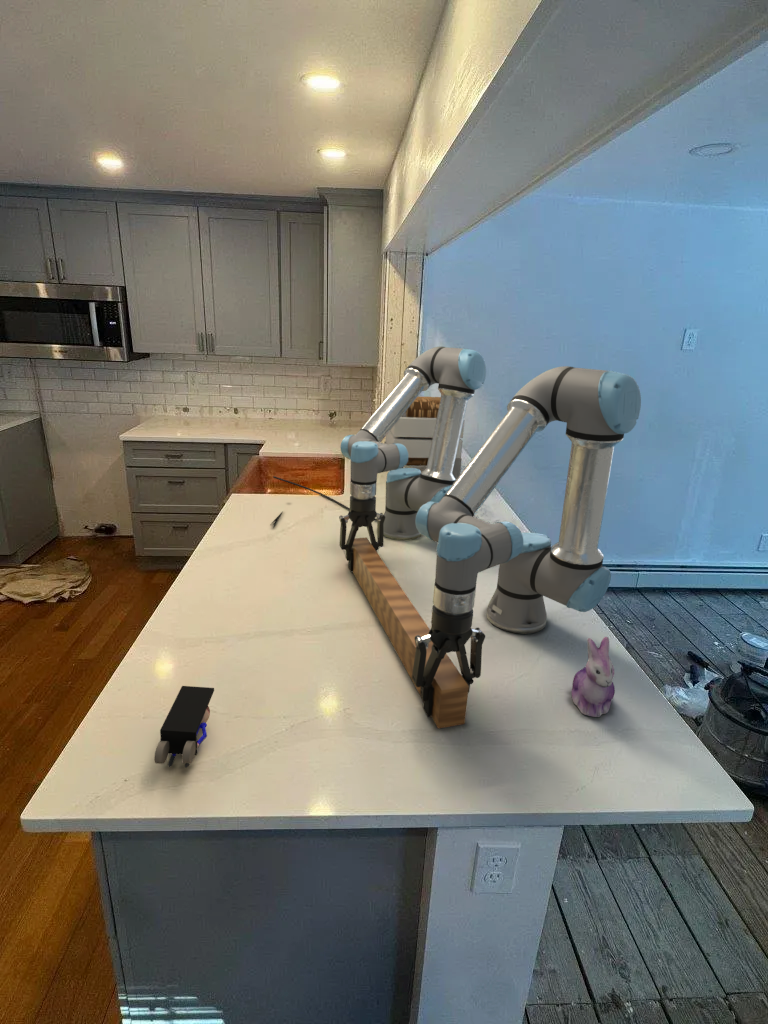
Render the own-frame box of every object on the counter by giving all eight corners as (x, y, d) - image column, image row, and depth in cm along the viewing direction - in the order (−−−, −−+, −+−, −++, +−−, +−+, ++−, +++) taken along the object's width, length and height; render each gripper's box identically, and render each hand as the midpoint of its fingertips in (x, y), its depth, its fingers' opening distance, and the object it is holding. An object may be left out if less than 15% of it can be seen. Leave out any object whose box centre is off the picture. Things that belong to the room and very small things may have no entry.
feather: (289, 506, 225) (292, 502, 225) (272, 529, 199) (275, 525, 198) (286, 503, 225) (288, 500, 225) (268, 527, 199) (271, 522, 198)
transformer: (382, 463, 289) (386, 382, 275) (445, 464, 293) (451, 384, 279) (390, 482, 257) (394, 392, 243) (460, 483, 261) (468, 394, 247)
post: (348, 564, 174) (349, 538, 171) (366, 563, 176) (366, 537, 173) (438, 729, 108) (441, 690, 105) (464, 724, 109) (469, 686, 106)
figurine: (594, 725, 110) (608, 660, 105) (557, 694, 119) (568, 632, 114) (628, 712, 114) (643, 648, 109) (590, 683, 123) (602, 622, 118)
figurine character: (196, 782, 95) (218, 713, 108) (191, 750, 92) (215, 683, 105) (155, 781, 95) (183, 712, 108) (149, 749, 91) (178, 682, 105)
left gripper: (334, 501, 157) (333, 576, 165) (397, 498, 162) (393, 571, 170) (328, 493, 164) (328, 566, 172) (390, 490, 169) (386, 560, 177)
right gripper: (411, 622, 98) (403, 730, 106) (509, 610, 104) (495, 714, 112) (397, 601, 105) (391, 704, 113) (490, 591, 110) (478, 690, 118)
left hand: (360, 568), depth 171 cm, fingers closed on post, 6 cm apart
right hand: (443, 709), depth 112 cm, fingers open, 6 cm apart
